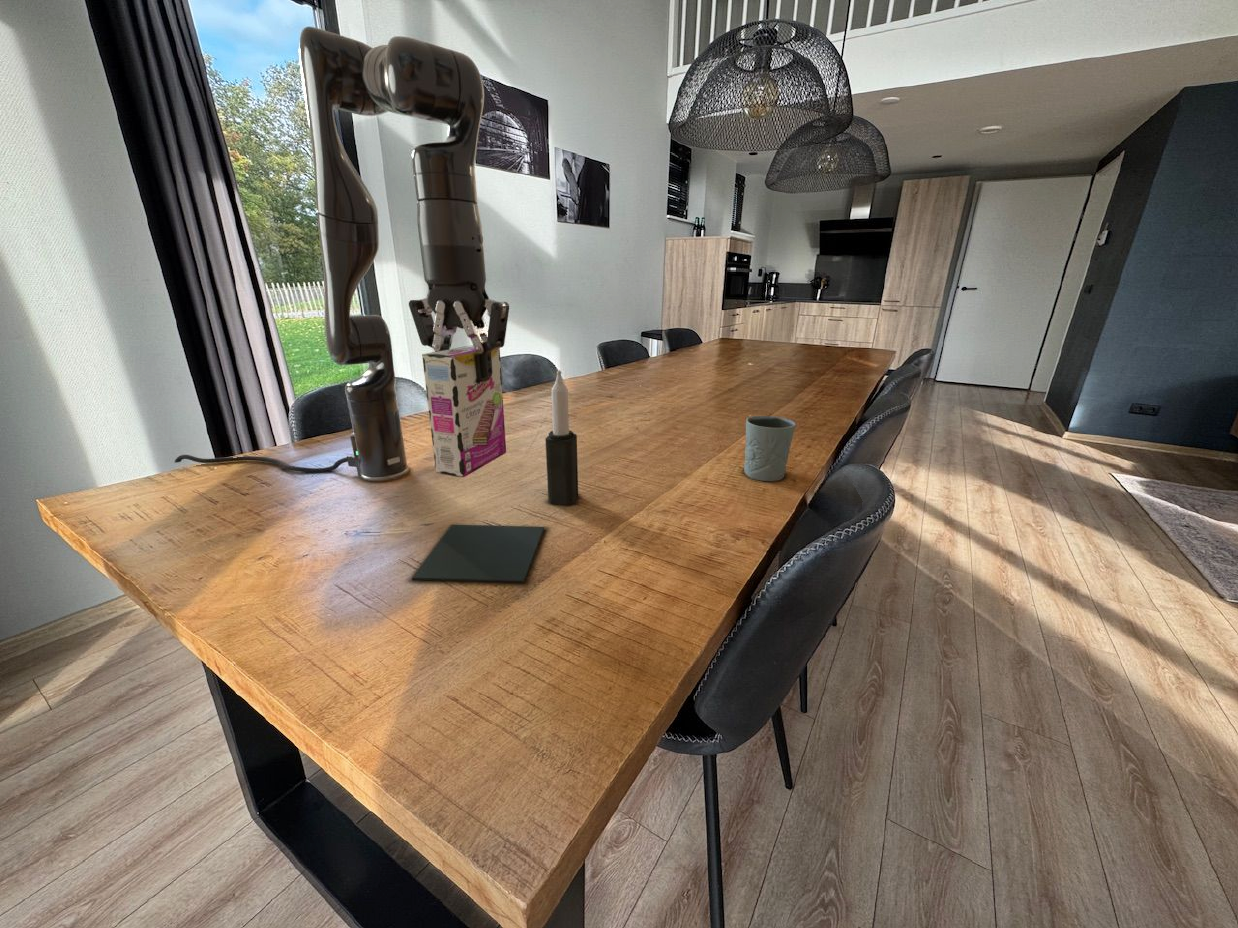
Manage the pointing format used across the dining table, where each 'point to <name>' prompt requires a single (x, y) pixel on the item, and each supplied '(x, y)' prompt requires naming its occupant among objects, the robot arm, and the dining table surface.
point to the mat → (482, 554)
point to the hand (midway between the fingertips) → (465, 379)
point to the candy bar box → (463, 411)
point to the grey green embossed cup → (767, 447)
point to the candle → (561, 450)
